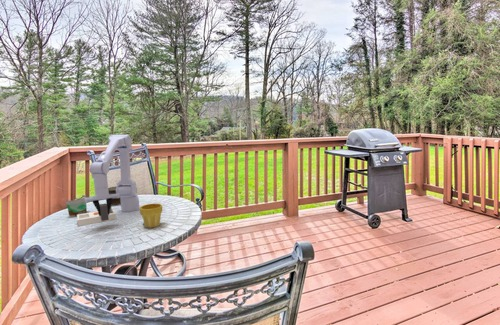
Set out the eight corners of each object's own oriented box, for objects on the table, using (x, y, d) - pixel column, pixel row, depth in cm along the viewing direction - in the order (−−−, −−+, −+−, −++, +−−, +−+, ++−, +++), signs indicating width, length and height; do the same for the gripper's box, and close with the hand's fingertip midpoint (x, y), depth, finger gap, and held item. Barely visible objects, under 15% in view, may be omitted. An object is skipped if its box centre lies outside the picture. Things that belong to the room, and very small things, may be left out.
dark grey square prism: (107, 217, 141) (106, 203, 140) (108, 219, 137) (107, 205, 136) (100, 218, 139) (99, 204, 138) (101, 221, 136) (100, 206, 134)
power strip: (113, 215, 157) (113, 207, 156) (116, 221, 149) (115, 212, 148) (77, 222, 148) (76, 213, 148) (78, 228, 140) (77, 218, 139)
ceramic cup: (119, 200, 187) (117, 185, 185) (128, 203, 181) (126, 187, 180) (99, 205, 177) (97, 189, 175) (107, 208, 171) (106, 192, 169)
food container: (77, 219, 152) (75, 201, 150) (67, 219, 153) (65, 201, 152) (94, 212, 164) (92, 195, 162) (84, 211, 165) (83, 194, 164)
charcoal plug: (111, 215, 154) (110, 203, 153) (112, 218, 150) (111, 205, 149) (105, 217, 152) (103, 204, 151) (106, 219, 149) (104, 206, 148)
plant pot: (144, 222, 147) (143, 203, 145) (165, 221, 147) (164, 202, 146) (138, 229, 136) (136, 209, 135) (160, 228, 137) (159, 208, 136)
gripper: (84, 191, 129) (87, 220, 131) (119, 186, 136) (121, 214, 138) (83, 188, 135) (86, 215, 137) (117, 183, 142) (119, 210, 144)
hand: (104, 214), depth 138 cm, fingers closed on dark grey square prism, 3 cm apart
